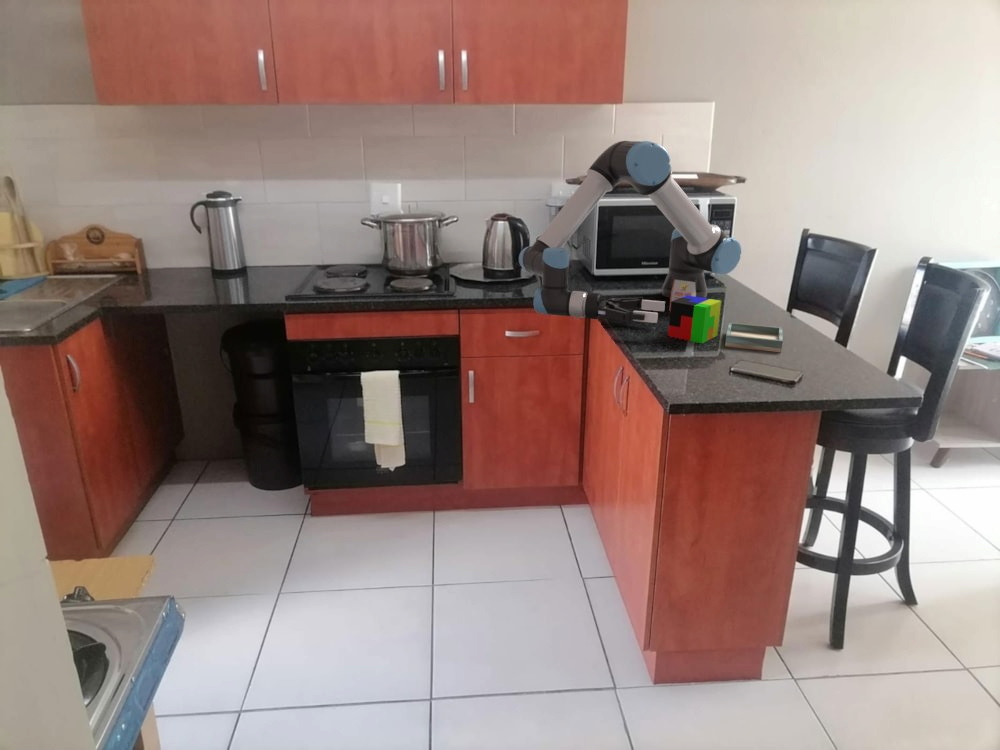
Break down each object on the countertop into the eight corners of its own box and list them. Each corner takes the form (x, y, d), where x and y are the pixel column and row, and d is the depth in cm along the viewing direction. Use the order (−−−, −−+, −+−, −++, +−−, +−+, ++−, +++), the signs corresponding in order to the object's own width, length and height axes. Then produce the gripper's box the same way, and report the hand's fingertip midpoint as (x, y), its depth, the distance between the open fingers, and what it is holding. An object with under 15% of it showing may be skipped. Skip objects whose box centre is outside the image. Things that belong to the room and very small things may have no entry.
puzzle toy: (684, 329, 203) (687, 295, 199) (717, 335, 197) (721, 300, 193) (668, 336, 196) (671, 301, 192) (702, 343, 190) (705, 307, 186)
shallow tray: (727, 332, 199) (729, 322, 198) (780, 337, 195) (782, 327, 194) (724, 346, 187) (726, 335, 186) (781, 352, 182) (782, 341, 181)
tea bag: (673, 309, 224) (676, 278, 221) (694, 312, 221) (697, 281, 217) (669, 311, 222) (671, 280, 218) (689, 315, 218) (692, 283, 214)
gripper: (595, 308, 216) (666, 314, 209) (575, 328, 194) (653, 336, 187) (597, 283, 214) (668, 289, 207) (576, 302, 192) (655, 309, 185)
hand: (661, 312), depth 197 cm, fingers open, 13 cm apart
